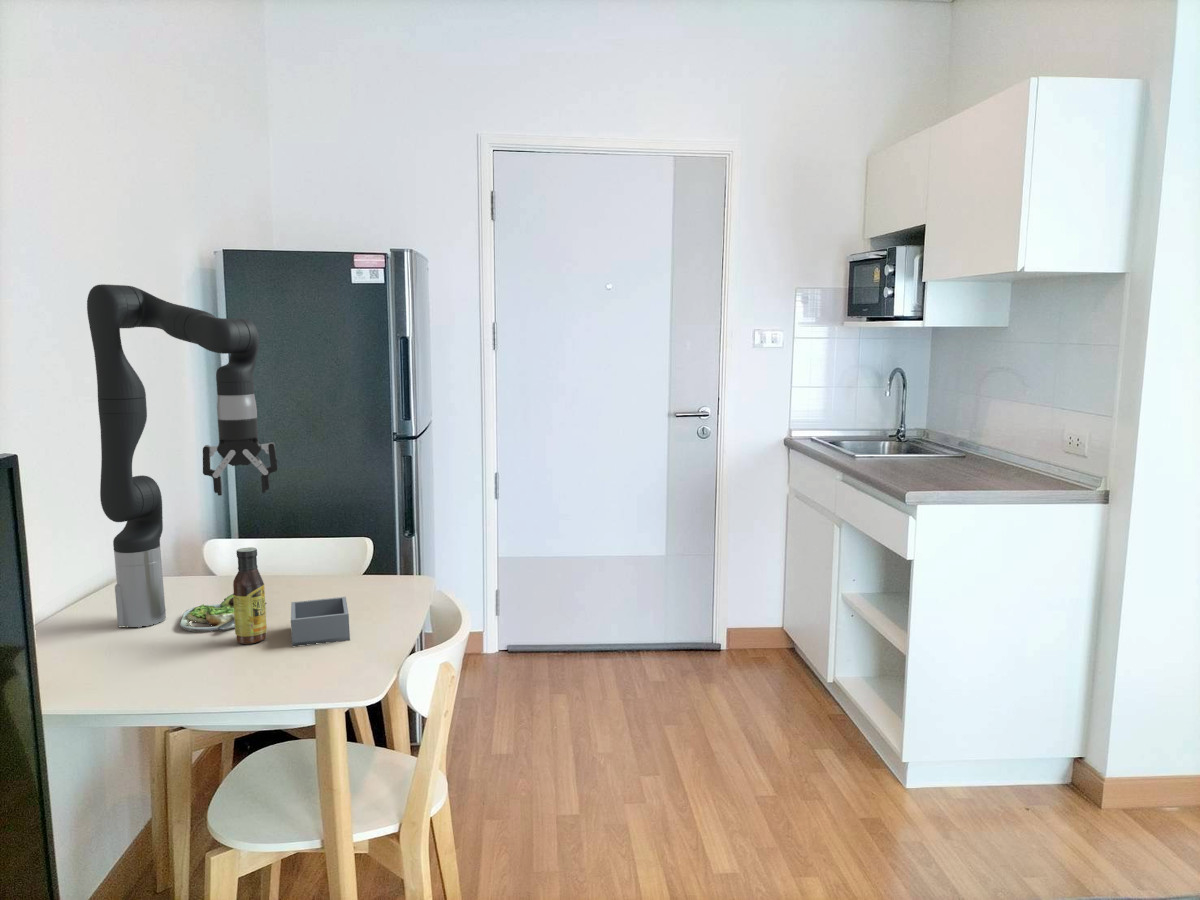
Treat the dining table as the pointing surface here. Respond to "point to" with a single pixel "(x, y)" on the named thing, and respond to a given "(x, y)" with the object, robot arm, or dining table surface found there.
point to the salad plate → (211, 616)
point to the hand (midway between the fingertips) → (242, 493)
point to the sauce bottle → (249, 599)
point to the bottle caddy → (319, 621)
